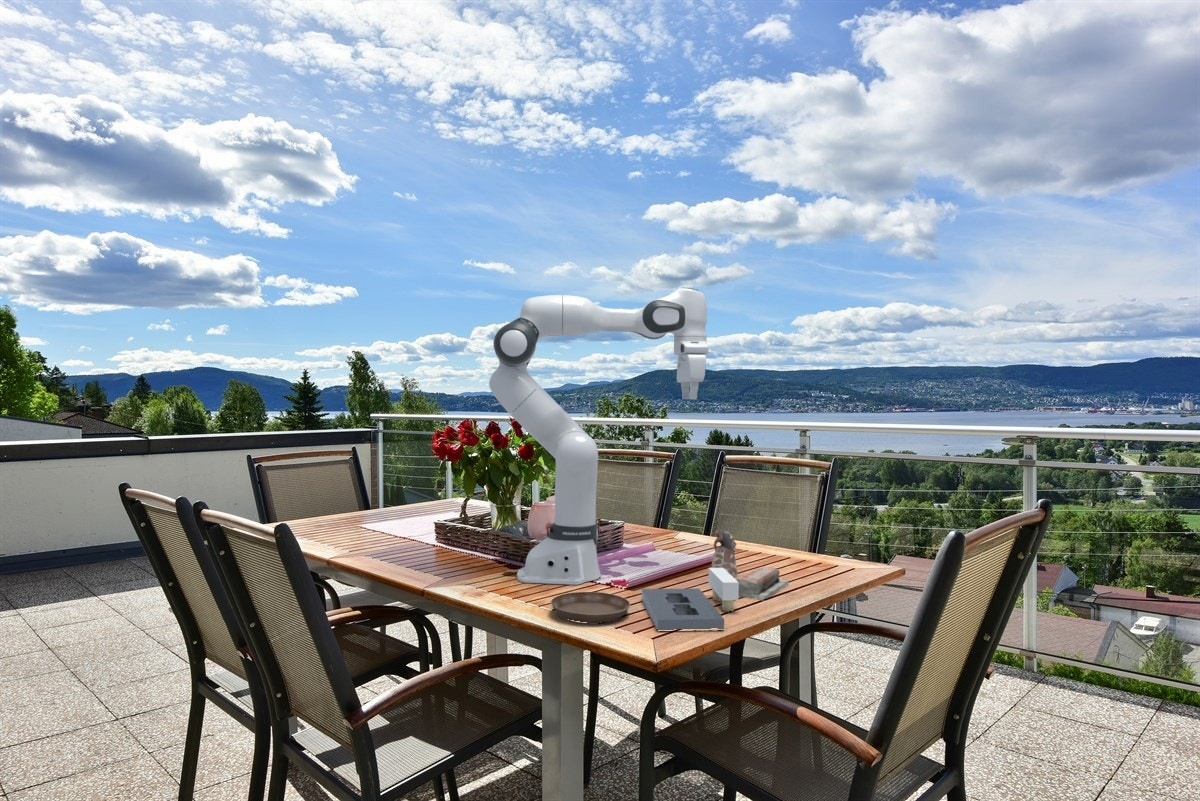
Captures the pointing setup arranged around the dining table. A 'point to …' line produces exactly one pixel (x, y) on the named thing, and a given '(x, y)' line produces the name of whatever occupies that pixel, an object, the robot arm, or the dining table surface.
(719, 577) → the white pronged plug block
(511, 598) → the dining table surface
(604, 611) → the plant saucer
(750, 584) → the packaged product
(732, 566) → the figurine
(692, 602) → the keyhole plate
